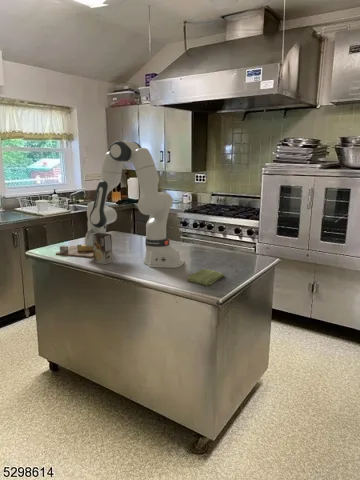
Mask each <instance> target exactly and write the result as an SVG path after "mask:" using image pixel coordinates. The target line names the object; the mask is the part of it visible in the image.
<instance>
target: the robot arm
mask: <svg viewBox="0 0 360 480" xmlns="http://www.w3.org/2000/svg"><path fill="white" fill-rule="evenodd" d="M125 163H132V165H133V167H134V171H135V174H136V177H137V180H138V184H139V185H138V186H139V199H138V201H137V208H138V211H139V212H140V213H141V214H143V215H145V216H149V218H148V220H147V222H146V223H145V232H146V234H145V243H144V244H145V257H144V260H143V264H145V265H146V266H148V267H150V268H172V269H175V268H176V269H177V268H180V267H182V266H183V264H184V263H185V262H184V259H182V258H181V257H180V251H178V250H177V249H176V248H175V247H173V246H172V245H171V243H170V242H171V238H168V237H167V224H168V223H167V222H168V218H169V212H170V210H171V208H172V206H173V203H174V201H173V197H172V196H171V194H170V193H168V192H165V191H164V192H163V191H161V192H160V191H159V189H158V188H159V182H160V177H159V174H158V170H157V167H156V164H155V160H154V158H153V156H152V154H151V153H150V150H149V149H148V148H145V147H142V146H141V145H140V144H139V143H137V142H135V141H129V140H116V141H114V142H112V143H111V144H110V145H109V149H108V151H107V152H106V153H105V155H104V158H103V162H102V165H101V167H102V168H101V174H100V179H99V181H98V184H97V186H96V191H95V196H94V201H90V202H88V203H87V206H86V207H87V208H86V216H87V217H86V218H87V232H86V234H85V236H84V237H85V239H84V245H86V246H89V247H91V246H93V239H92V235H93V234H96V233H105V234H107V225H109V224H112V223H114V222H116V221H117V218H118V213H117V211H116V209H115V208H113V207H111V206H108V205H106V202H107V197H108V195H109V193H110V192H111V191H112V190H114V189H115V188H116V187H118V186H119V184H120V183H121V180H122V172H123V165H124V164H125Z"/></svg>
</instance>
